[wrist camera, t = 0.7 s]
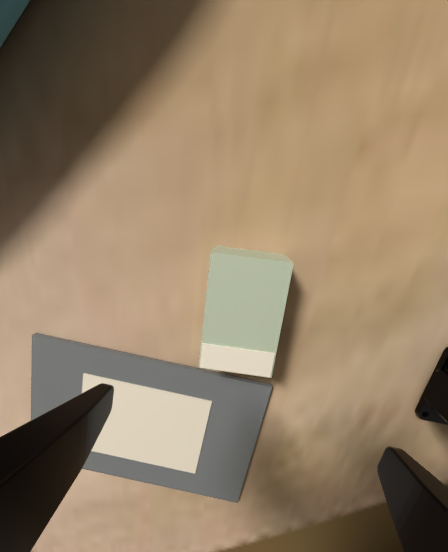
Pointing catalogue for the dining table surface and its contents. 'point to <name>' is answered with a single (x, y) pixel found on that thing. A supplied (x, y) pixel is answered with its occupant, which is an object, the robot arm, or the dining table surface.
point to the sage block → (244, 310)
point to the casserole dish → (10, 16)
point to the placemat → (157, 415)
